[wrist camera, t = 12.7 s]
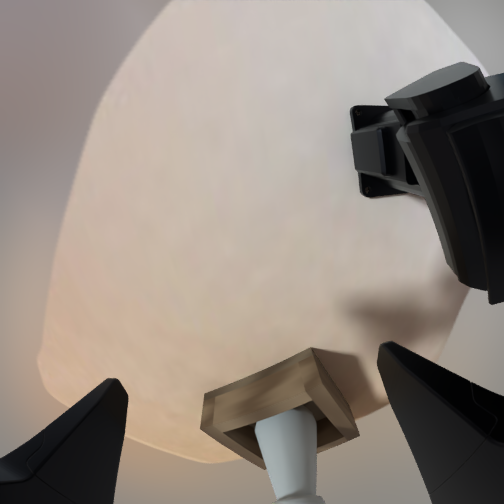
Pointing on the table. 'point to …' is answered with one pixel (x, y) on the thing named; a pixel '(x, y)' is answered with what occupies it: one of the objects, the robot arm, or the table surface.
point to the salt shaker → (290, 455)
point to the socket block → (277, 406)
